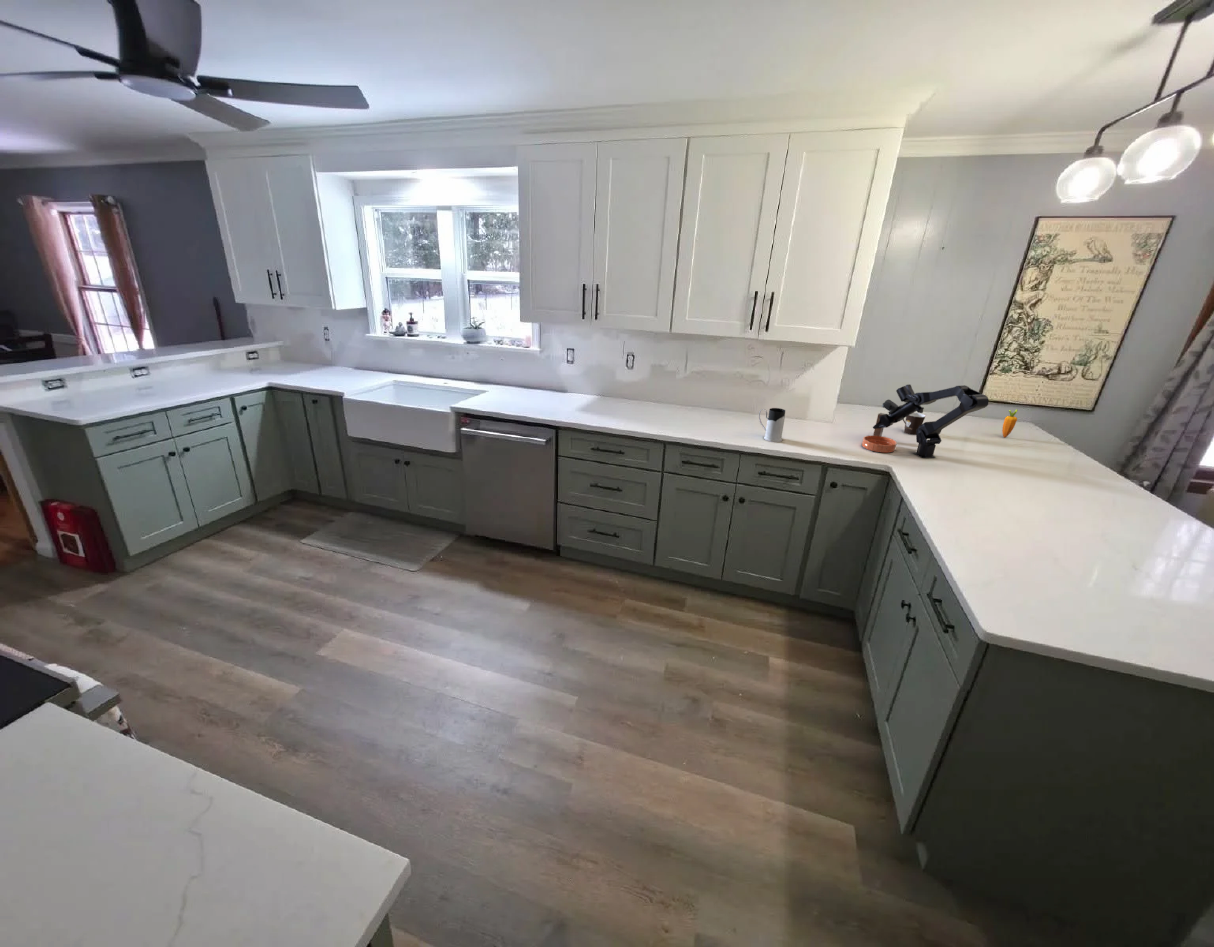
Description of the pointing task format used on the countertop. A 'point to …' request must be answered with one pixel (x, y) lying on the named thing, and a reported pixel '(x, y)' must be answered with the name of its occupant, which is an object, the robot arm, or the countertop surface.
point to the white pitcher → (774, 424)
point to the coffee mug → (913, 423)
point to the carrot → (1009, 423)
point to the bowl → (879, 444)
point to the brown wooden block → (879, 430)
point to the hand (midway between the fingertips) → (876, 426)
